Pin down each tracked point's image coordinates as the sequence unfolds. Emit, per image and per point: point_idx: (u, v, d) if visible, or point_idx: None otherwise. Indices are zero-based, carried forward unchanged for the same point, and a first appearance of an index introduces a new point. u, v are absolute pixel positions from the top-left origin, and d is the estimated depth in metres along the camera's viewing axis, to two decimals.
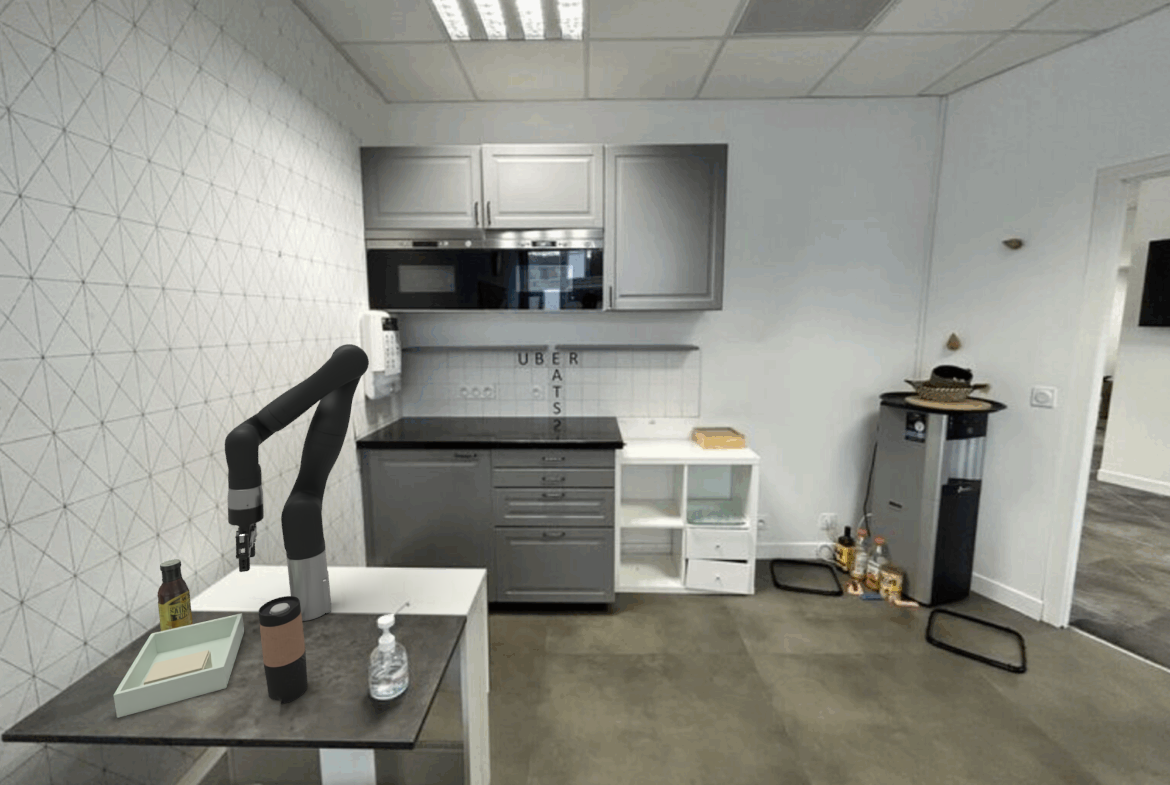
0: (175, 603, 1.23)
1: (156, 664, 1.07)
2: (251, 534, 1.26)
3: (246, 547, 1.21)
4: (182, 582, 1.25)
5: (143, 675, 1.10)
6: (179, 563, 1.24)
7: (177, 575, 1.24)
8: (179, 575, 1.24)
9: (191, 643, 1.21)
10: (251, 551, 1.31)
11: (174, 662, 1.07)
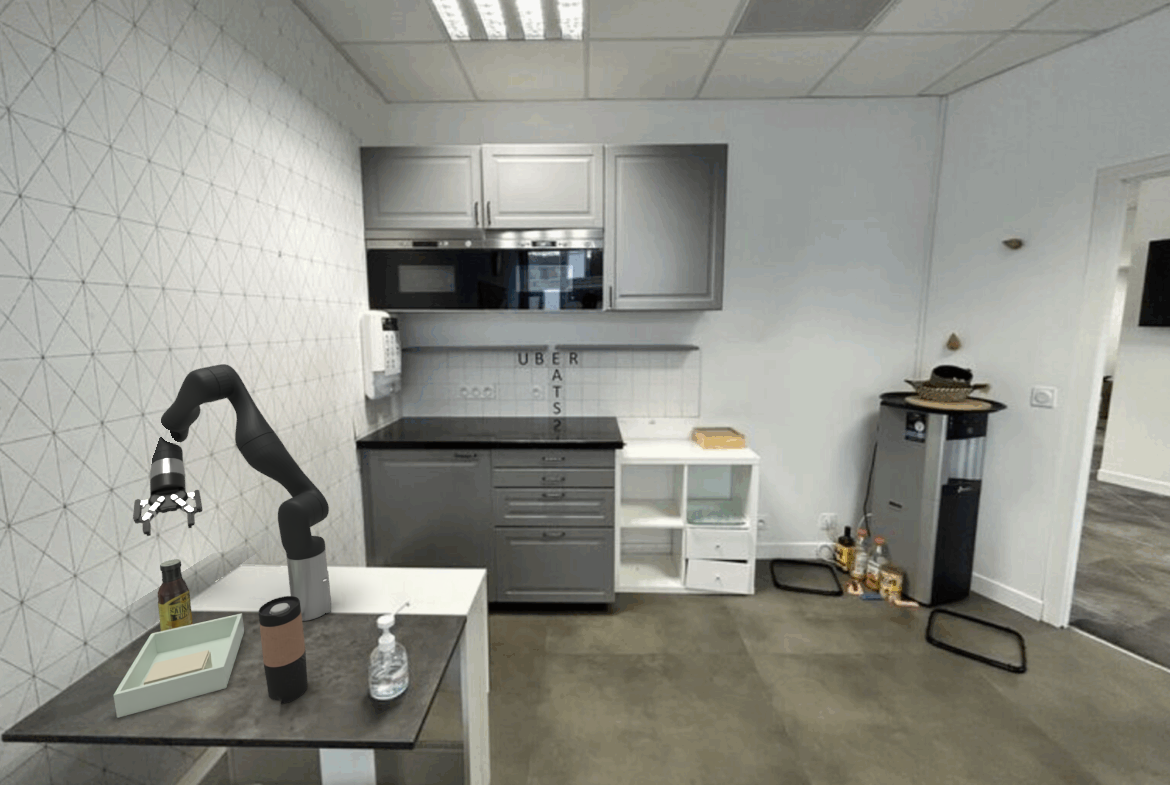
0: (175, 603, 1.23)
1: (156, 664, 1.07)
2: None
3: (134, 511, 1.30)
4: (182, 582, 1.25)
5: (143, 675, 1.10)
6: (179, 563, 1.24)
7: (177, 575, 1.24)
8: (179, 575, 1.24)
9: (191, 643, 1.21)
10: None
11: (174, 662, 1.07)
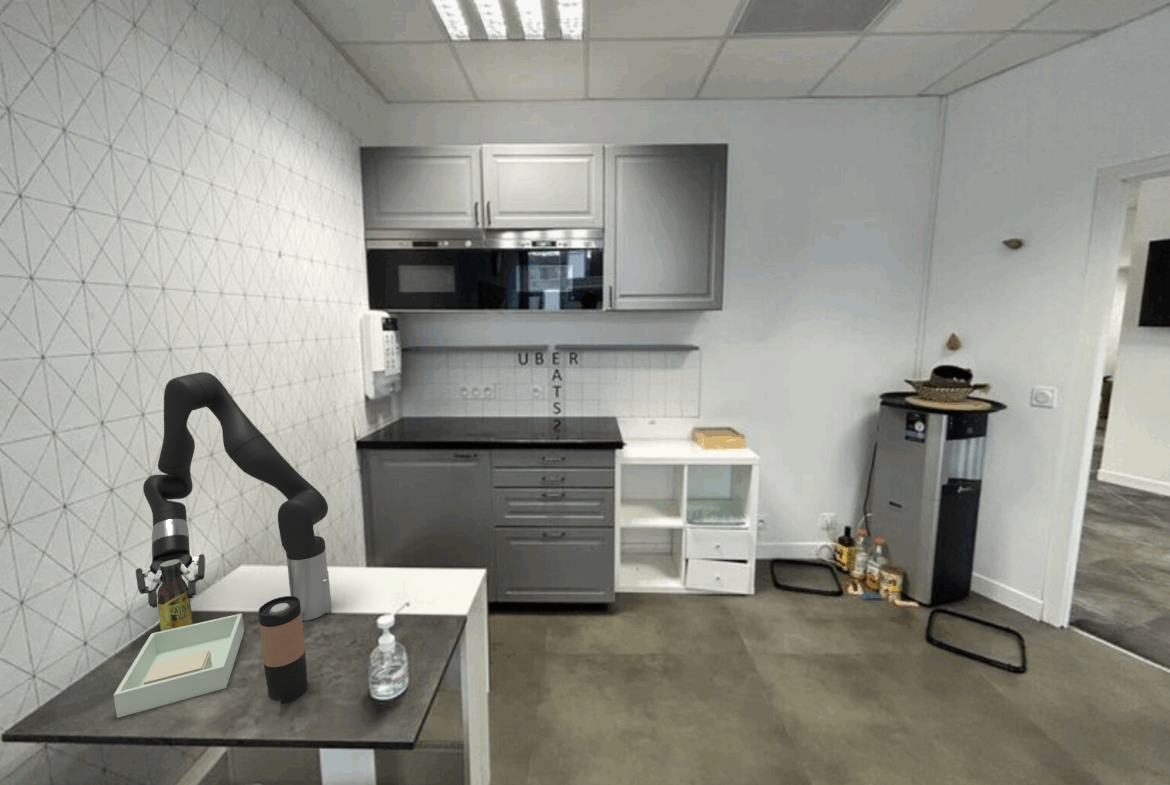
0: (175, 603, 1.23)
1: (156, 664, 1.07)
2: None
3: (137, 581, 1.22)
4: (182, 582, 1.25)
5: (143, 675, 1.10)
6: (179, 563, 1.24)
7: (177, 575, 1.24)
8: (179, 575, 1.24)
9: (191, 643, 1.21)
10: None
11: (174, 662, 1.07)
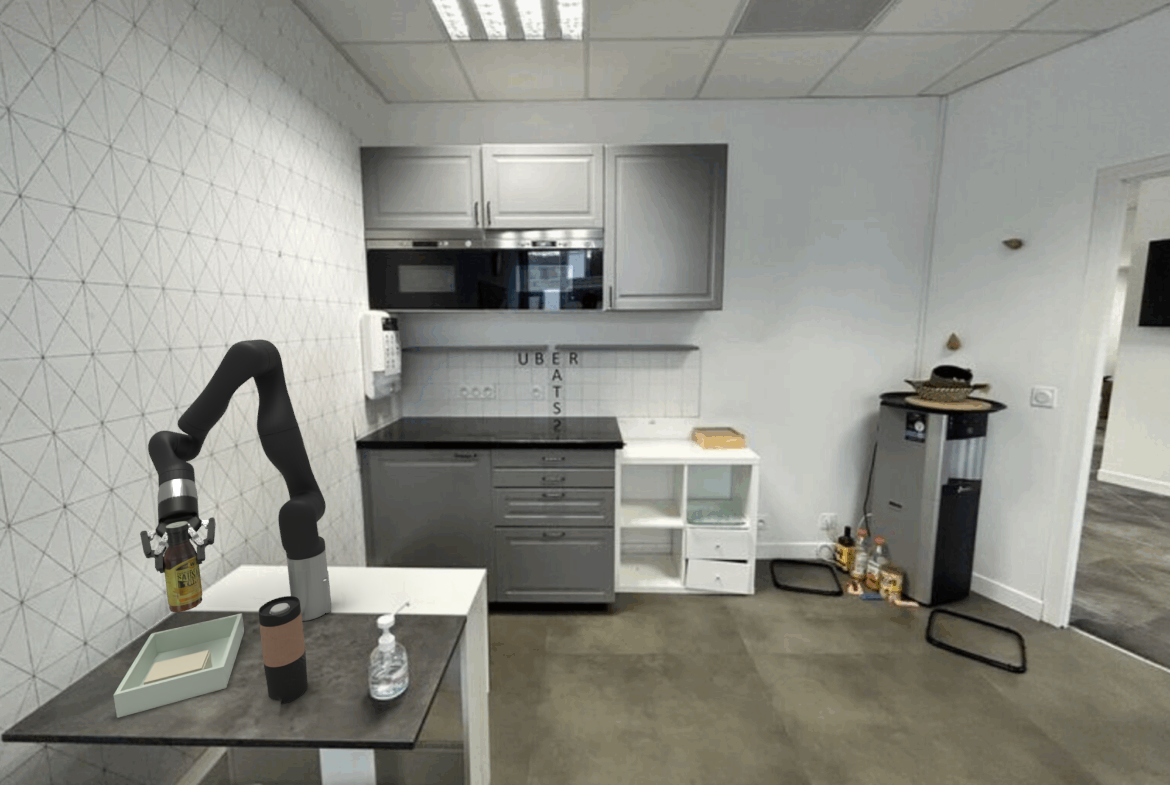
0: (183, 569, 1.12)
1: (156, 664, 1.07)
2: None
3: None
4: (190, 546, 1.14)
5: (143, 675, 1.10)
6: (186, 525, 1.13)
7: (185, 538, 1.13)
8: (187, 538, 1.13)
9: (191, 643, 1.21)
10: (197, 556, 1.15)
11: (174, 662, 1.07)
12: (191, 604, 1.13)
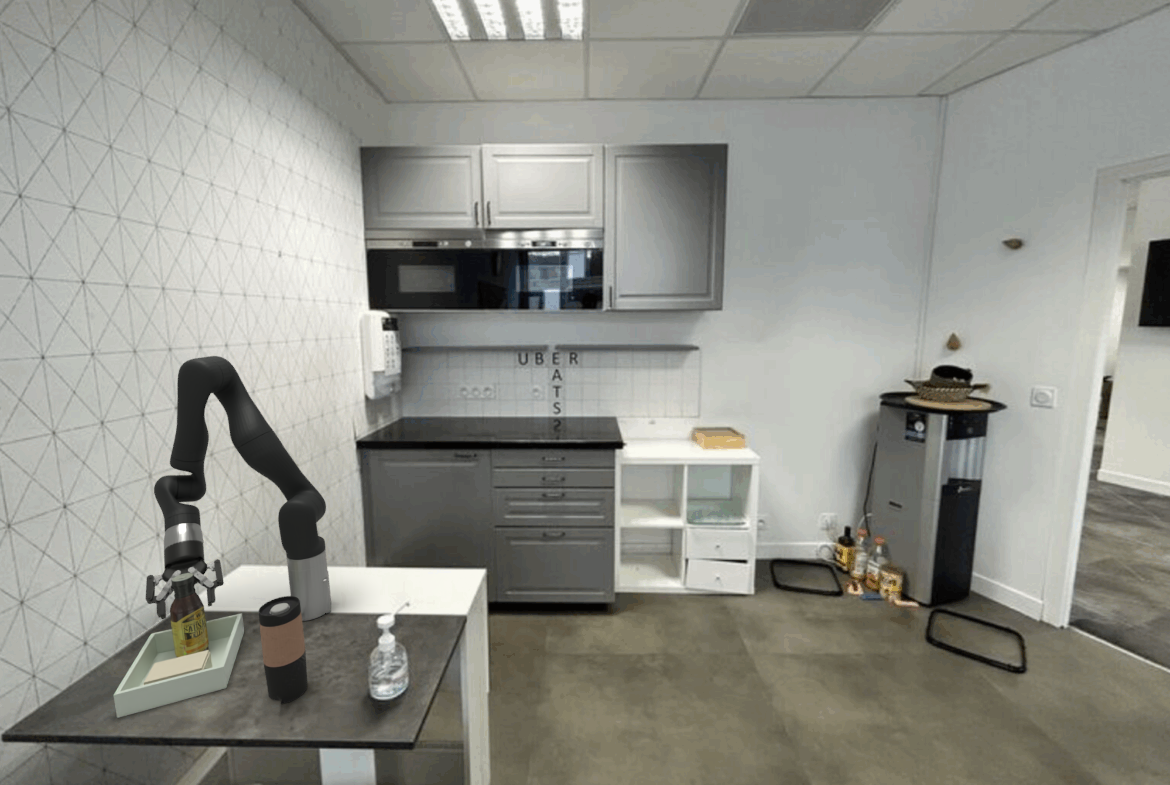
0: (189, 621, 1.13)
1: (156, 664, 1.07)
2: None
3: (146, 589, 1.13)
4: (196, 597, 1.15)
5: (143, 675, 1.10)
6: (192, 577, 1.15)
7: (190, 590, 1.14)
8: (192, 590, 1.15)
9: None
10: None
11: (174, 662, 1.07)
12: None
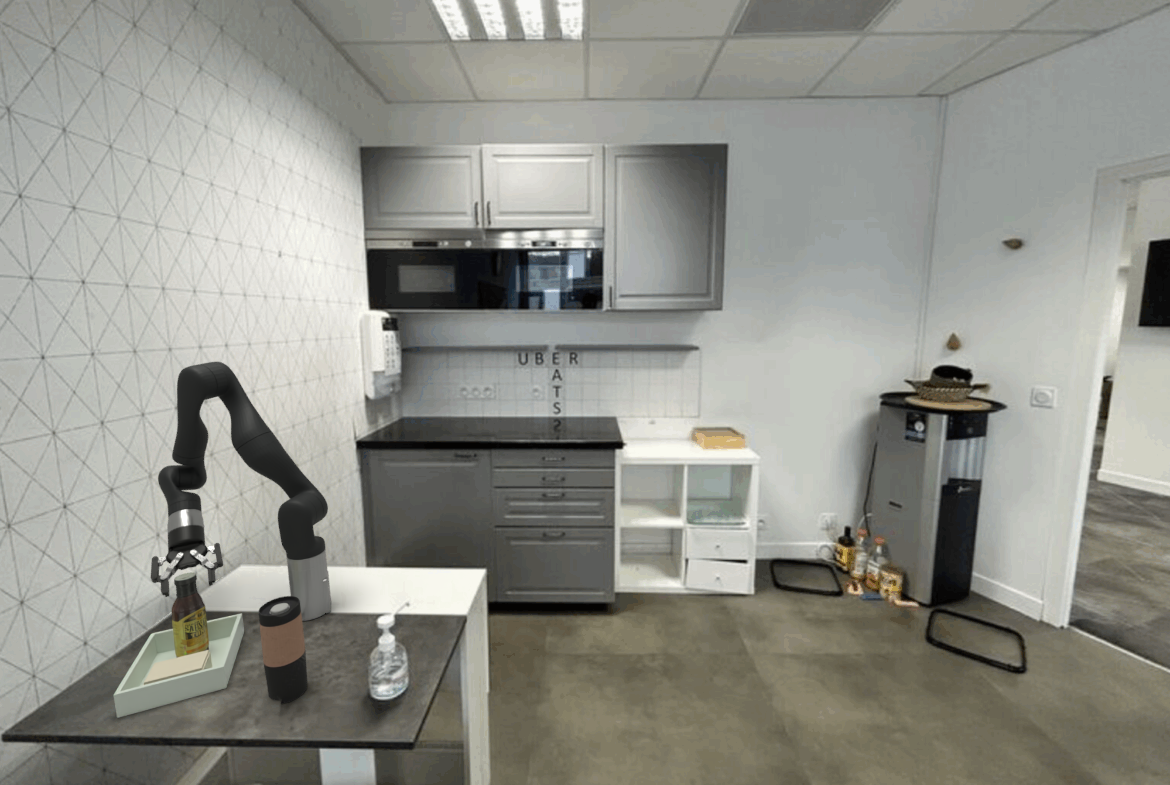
0: (191, 620, 1.14)
1: (156, 664, 1.07)
2: None
3: (151, 569, 1.22)
4: (198, 597, 1.16)
5: (143, 675, 1.10)
6: (194, 577, 1.15)
7: (192, 590, 1.15)
8: (194, 590, 1.15)
9: None
10: (208, 578, 1.26)
11: (174, 662, 1.07)
12: None
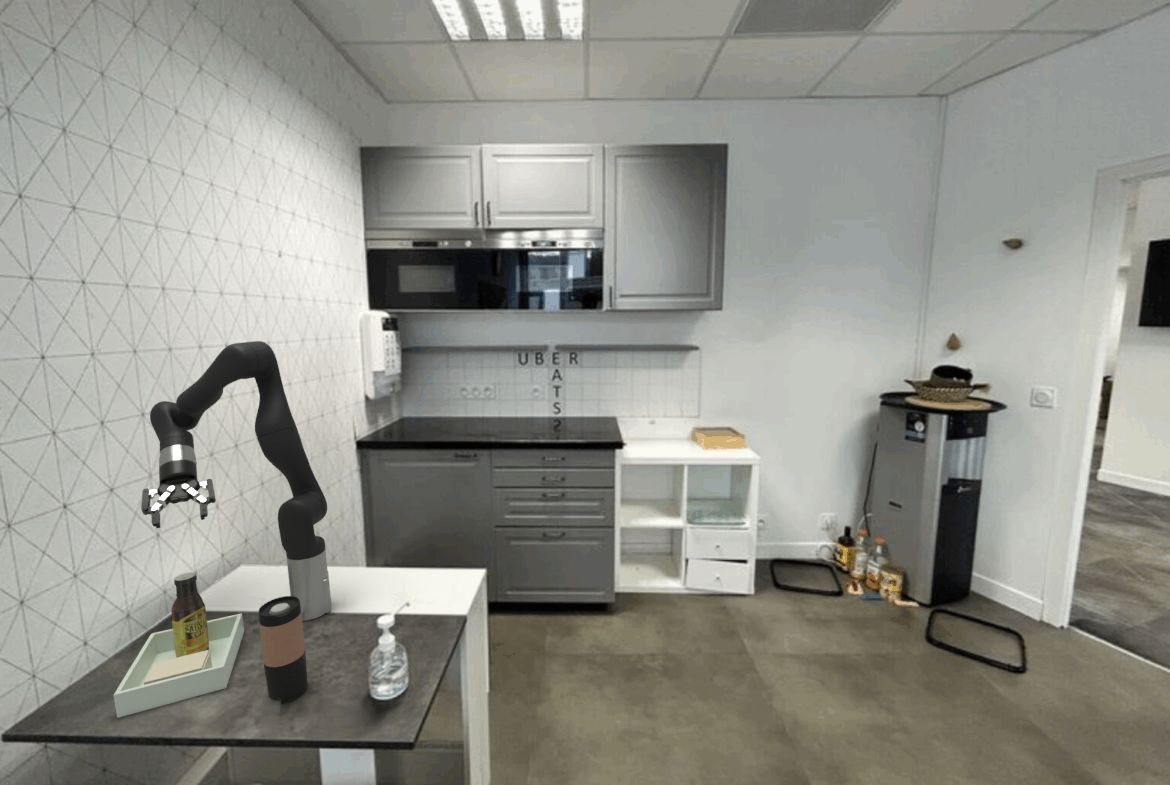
0: (191, 620, 1.14)
1: (156, 664, 1.07)
2: None
3: (142, 501, 1.20)
4: (198, 597, 1.16)
5: (143, 675, 1.10)
6: (194, 577, 1.15)
7: (193, 590, 1.15)
8: (194, 590, 1.15)
9: None
10: (200, 512, 1.24)
11: (174, 662, 1.07)
12: None
